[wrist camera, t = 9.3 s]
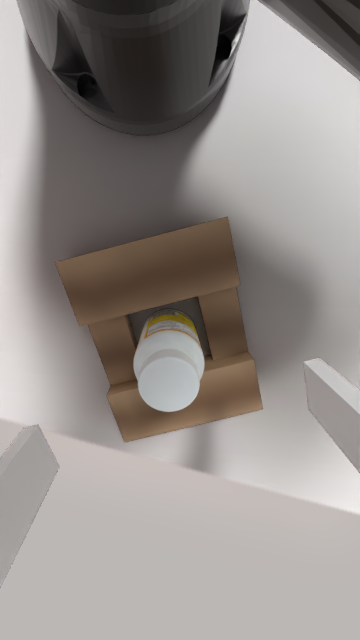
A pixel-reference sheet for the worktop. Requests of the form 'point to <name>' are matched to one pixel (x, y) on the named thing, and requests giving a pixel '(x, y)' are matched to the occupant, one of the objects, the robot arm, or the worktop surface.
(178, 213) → the worktop surface
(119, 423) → the frame
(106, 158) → the worktop surface
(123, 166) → the worktop surface
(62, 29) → the robot arm
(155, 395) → the supplement bottle
